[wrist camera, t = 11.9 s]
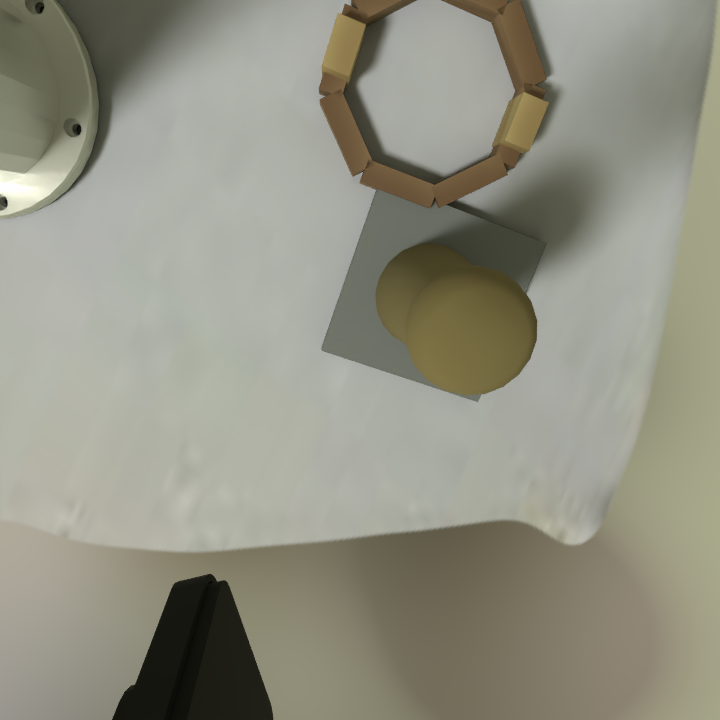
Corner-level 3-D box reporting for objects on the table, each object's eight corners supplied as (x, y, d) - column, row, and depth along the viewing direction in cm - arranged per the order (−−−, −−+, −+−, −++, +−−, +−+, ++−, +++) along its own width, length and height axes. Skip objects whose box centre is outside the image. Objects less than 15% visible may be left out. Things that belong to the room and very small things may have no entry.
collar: (297, 159, 28) (294, 154, 26) (365, -64, 26) (369, -89, 24) (484, 230, 30) (496, 232, 28) (566, 27, 28) (586, 11, 25)
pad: (321, 347, 31) (321, 350, 31) (379, 180, 29) (380, 179, 28) (474, 397, 33) (477, 402, 32) (541, 242, 30) (546, 243, 30)
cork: (401, 225, 29) (443, 230, 18) (497, 268, 30) (591, 297, 19) (358, 325, 30) (374, 383, 20) (452, 363, 31) (515, 438, 21)
